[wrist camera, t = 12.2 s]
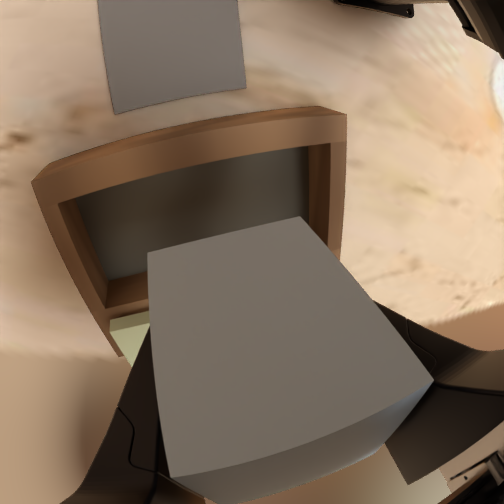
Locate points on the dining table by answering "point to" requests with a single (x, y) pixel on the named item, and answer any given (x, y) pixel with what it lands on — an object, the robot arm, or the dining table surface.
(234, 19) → the mat
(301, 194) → the brown hollow rectangular piece
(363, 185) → the dining table surface
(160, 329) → the block
